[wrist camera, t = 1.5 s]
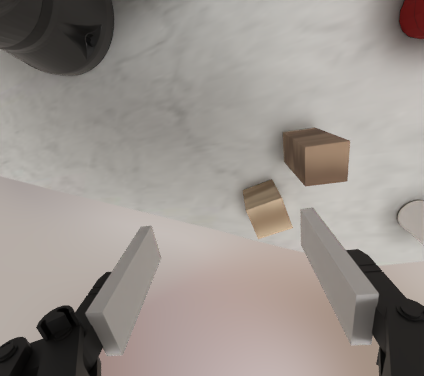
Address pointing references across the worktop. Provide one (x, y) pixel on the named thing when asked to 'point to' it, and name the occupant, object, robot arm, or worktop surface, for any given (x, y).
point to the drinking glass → (413, 219)
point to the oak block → (266, 209)
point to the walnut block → (316, 156)
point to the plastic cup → (412, 18)
